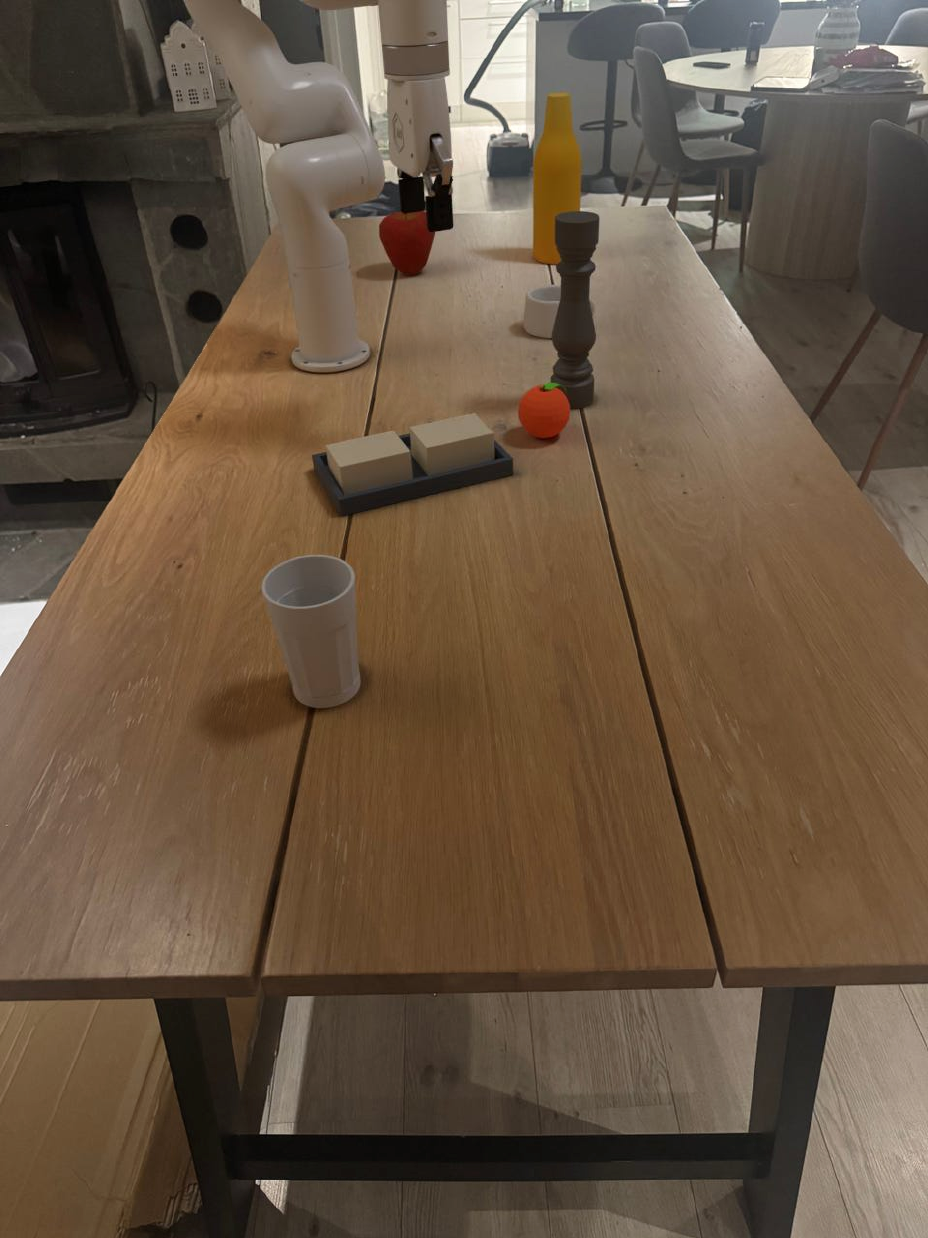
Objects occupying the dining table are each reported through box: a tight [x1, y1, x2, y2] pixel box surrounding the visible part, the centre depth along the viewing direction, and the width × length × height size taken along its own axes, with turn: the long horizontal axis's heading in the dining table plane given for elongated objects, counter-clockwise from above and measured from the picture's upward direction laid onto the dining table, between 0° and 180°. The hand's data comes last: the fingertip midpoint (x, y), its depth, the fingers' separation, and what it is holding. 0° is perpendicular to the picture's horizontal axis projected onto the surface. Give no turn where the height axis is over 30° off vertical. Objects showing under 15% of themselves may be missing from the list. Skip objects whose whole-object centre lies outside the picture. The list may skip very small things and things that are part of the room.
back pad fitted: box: [325, 430, 413, 496], centre depth 115 cm, size 6×9×4 cm
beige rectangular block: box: [409, 412, 495, 476], centre depth 118 cm, size 6×9×4 cm
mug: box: [522, 284, 596, 339], centre depth 154 cm, size 12×10×6 cm
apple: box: [378, 210, 436, 276], centre depth 179 cm, size 11×11×12 cm
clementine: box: [517, 382, 571, 439], centre depth 123 cm, size 8×7×7 cm
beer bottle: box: [532, 92, 583, 265], centre depth 178 cm, size 9×9×29 cm
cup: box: [261, 554, 362, 709], centre depth 83 cm, size 8×8×12 cm
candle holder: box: [550, 210, 600, 410], centre depth 126 cm, size 6×6×25 cm
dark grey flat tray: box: [311, 432, 514, 517], centre depth 118 cm, size 13×23×2 cm, turn 112°
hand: (426, 220), depth 115 cm, fingers open, 9 cm apart
